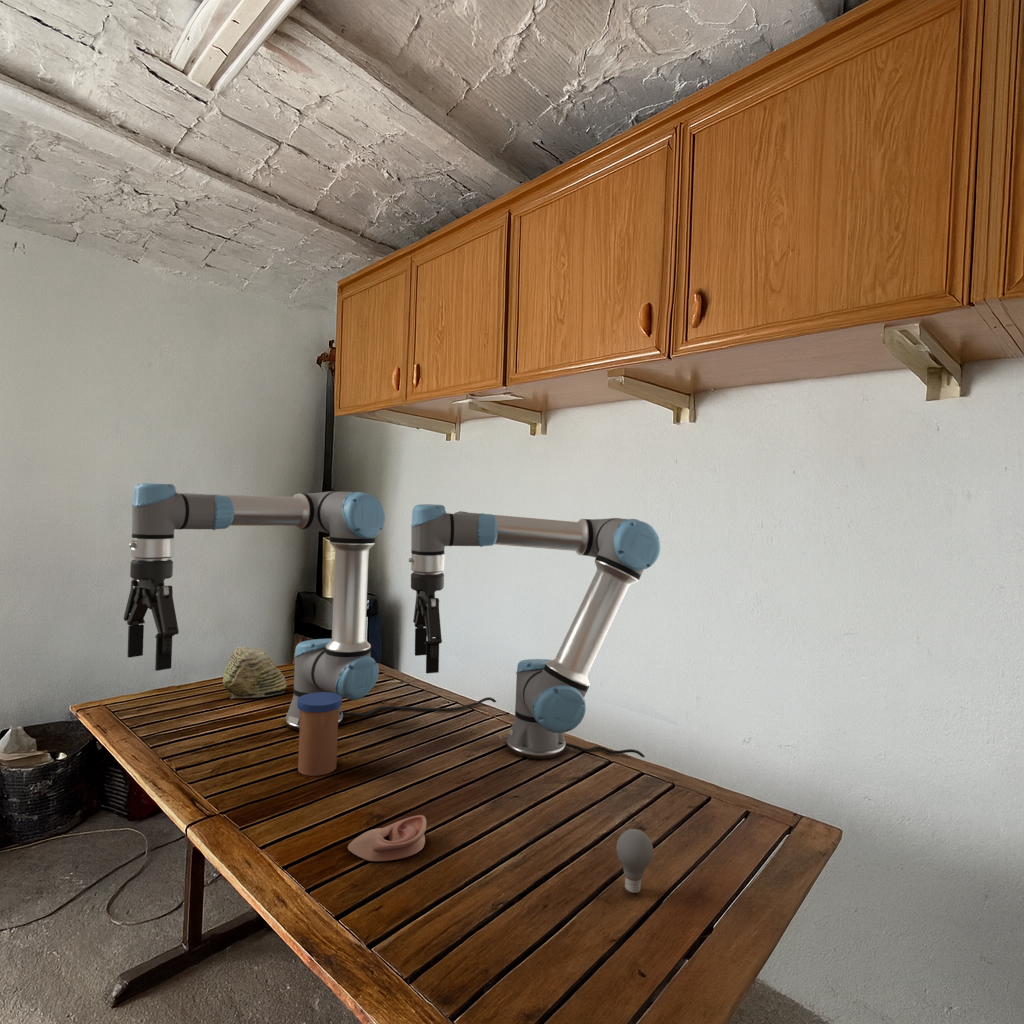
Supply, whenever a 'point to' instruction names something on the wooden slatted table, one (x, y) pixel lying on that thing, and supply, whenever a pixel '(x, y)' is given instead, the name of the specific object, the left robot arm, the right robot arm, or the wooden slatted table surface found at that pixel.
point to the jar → (318, 742)
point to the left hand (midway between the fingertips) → (148, 662)
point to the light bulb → (634, 857)
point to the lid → (319, 702)
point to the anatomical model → (391, 840)
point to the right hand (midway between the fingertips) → (426, 663)
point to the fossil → (252, 674)
